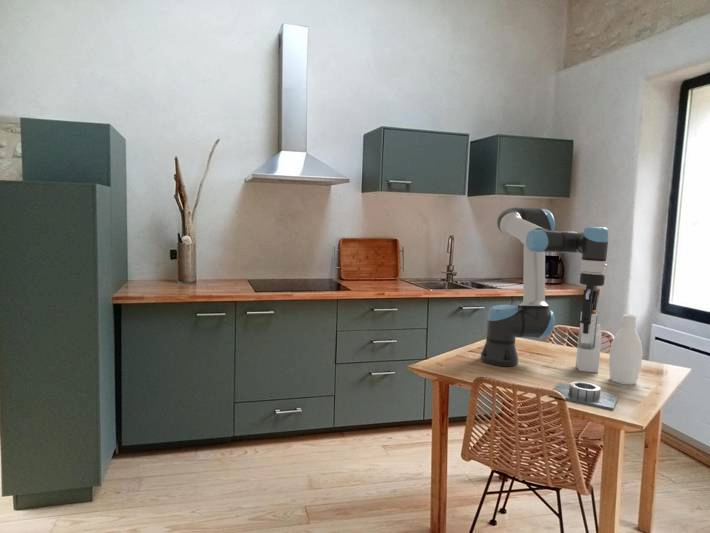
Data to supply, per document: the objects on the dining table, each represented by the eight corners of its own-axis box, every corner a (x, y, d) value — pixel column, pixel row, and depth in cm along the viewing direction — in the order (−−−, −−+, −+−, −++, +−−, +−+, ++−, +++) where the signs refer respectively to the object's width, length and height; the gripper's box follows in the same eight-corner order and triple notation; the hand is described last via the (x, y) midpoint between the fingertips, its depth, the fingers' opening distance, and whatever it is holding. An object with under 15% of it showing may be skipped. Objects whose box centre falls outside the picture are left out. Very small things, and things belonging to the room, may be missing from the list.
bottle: (638, 388, 196) (645, 319, 193) (605, 381, 202) (611, 315, 199) (640, 380, 205) (647, 315, 203) (608, 374, 211) (615, 311, 209)
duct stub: (576, 347, 181) (579, 309, 179) (579, 345, 185) (582, 308, 184) (593, 350, 178) (596, 312, 177) (595, 347, 182) (599, 310, 181)
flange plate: (548, 396, 182) (549, 385, 181) (558, 384, 195) (559, 374, 195) (613, 410, 171) (614, 398, 171) (619, 397, 184) (620, 386, 184)
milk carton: (598, 373, 213) (602, 326, 211) (579, 371, 214) (583, 324, 212) (593, 368, 220) (598, 322, 218) (575, 366, 221) (579, 321, 219)
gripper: (600, 275, 170) (593, 348, 172) (608, 272, 185) (602, 338, 187) (575, 273, 174) (569, 344, 176) (585, 270, 189) (580, 335, 191)
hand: (586, 341), depth 181 cm, fingers closed on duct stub, 5 cm apart
